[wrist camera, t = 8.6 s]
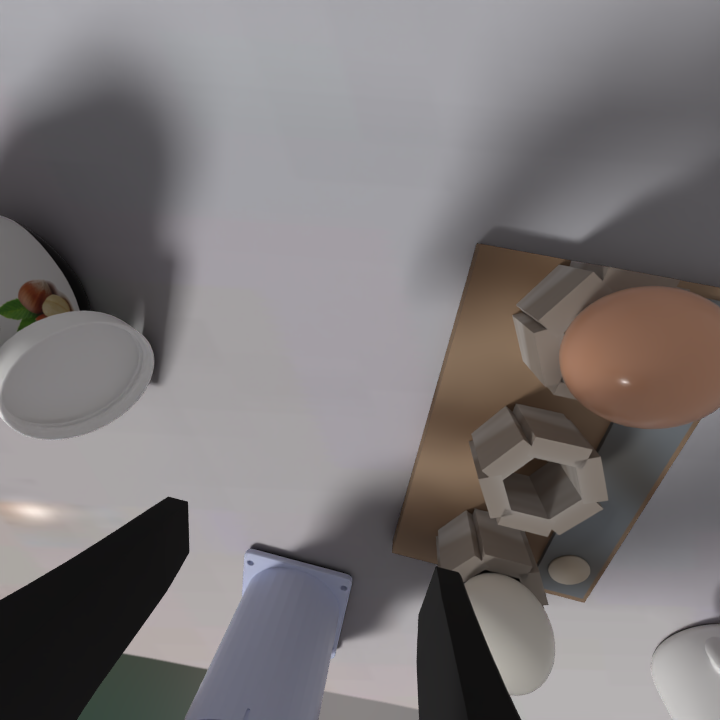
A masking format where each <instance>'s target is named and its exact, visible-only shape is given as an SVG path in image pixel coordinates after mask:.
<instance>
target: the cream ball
mask: <svg viewBox="0 0 720 720" xmlns="http://www.w3.org/2000/svg"><path fill="white" fill-rule="evenodd" d="M464 585H465V588H466V591H467V593H468V596H469V599H470V602H471V604H472V607H473V609H474V612H475V615H476V617H477V620H478V622H479V625H480V627H481V630H482V632H483V635H484V637H485V640H486V642H487V645H488V647H489V649H490V652H491V654H492V656H493V659H494V661H495V663H496V666H497V668H498V670H499V672H500V675H501V677H502V679H503V682H504V684H505V686H506V688H507V691H508V693H509V695H513V696H518V695H525V694H529V693H531V692H533V691H535V690H536V689H538V688H539V687H540V686H542V684H543V683H544V682H545V681H546V680H547V678H548V676H549V674H550V672H551V670H552V667H553V664H554V658H555V640H554V634H553V629H552V626H551V623H550V620H549V618H548V616H547V613H546V612H545V610H544V608H543V606H542V605H541V603H540V602H539V601H538V599H537V598H536V597H535V596H534V594H533V593H532V592H531V591H530V590H529V589H528V588H526V587H525V586H524V585H523V584H521V583H520V582H519V581H517V580H515V579H513V578H511V577H509V576H506V575H503V574H499V573H482V574H479V575H476V576H474V577H472V578H470V579H469V580H468V581H467V582H465V583H464Z"/></svg>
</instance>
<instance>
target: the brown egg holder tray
mask: <svg viewBox="0 0 720 720" xmlns="http://www.w3.org/2000/svg"><path fill="white" fill-rule="evenodd" d="M642 286H663V287H672V288H678V289H682V290H686V291H689V292H693V293H695V294H698V295H700V296H702V297H704V298H706V299H708V300H710V301H711V302H713V303H715V304H716V305H718V306H719V307H720V288H719V287H714V286H709V285H703V284H698V283H692V282H687V281H681V280H678V279H673V278H667V277H662V276H656V275H651V274H645V273H640V272H634V271H629V270H624V269H618V268H613V267H607V266H601V265H595V264H589V263H583V262H578V261H572V260H566V259H561V258H555V257H550V256H544V255H539V254H533V253H528V252H522V251H517V250H511V249H506V248H501V247H495V246H490V245H484V244H478V243H477V245H476V248H475V252H474V255H473V259H472V262H471V266H470V269H469V273H468V276H467V280H466V283H465V287H464V291H463V294H462V298H461V301H460V305H459V308H458V312H457V315H456V319H455V322H454V326H453V329H452V333H451V336H450V340H449V344H448V347H447V351H446V354H445V358H444V361H443V365H442V368H441V372H440V375H439V379H438V382H437V386H436V389H435V393H434V397H433V400H432V404H431V407H430V411H429V414H428V418H427V421H426V425H425V428H424V432H423V435H422V439H421V442H420V446H419V449H418V453H417V457H416V460H415V464H414V467H413V471H412V474H411V478H410V481H409V485H408V488H407V492H406V495H405V499H404V502H403V506H402V510H401V513H400V517H399V520H398V524H397V527H396V531H395V534H394V538H393V546H392V553H395V554H399V555H403V556H407V557H411V558H414V559H418V560H422V561H426V562H430V563H434V564H438V567H441V568H444V569H448V570H452V571H456V572H459V573H460V575H461V577H462V579H463V582H464V583H465V582H467V581H468V580H469V579H470V578H472V577H474V576H476V575H479V574H482V573H499V574H503V575H506V576H509V577H511V578H513V579H515V580H517V581H519V582H520V583H521V584H523V585H524V586H525V587H526V588H528V589H529V590H530V591H531V592H532V593H533V594H534V596H535V597H536V598H537V599H538V601H539V602H540V603H541V605H542V606H543V605H548V602H547V598H546V594H545V593H549V594H553V595H557V596H561V597H565V598H568V599H572V600H576V601H580V602H585V601H586V599H587V598H588V596H589V595H590V593H591V591H592V590H593V588H594V587H595V585H596V584H597V582H598V580H599V579H600V577H601V576H602V574H603V573H604V571H605V569H606V568H607V566H608V565H609V563H610V562H611V560H612V558H613V557H614V555H615V554H616V552H617V550H618V549H619V547H620V546H621V544H622V543H623V541H624V539H625V538H626V536H627V535H628V533H629V532H630V530H631V528H632V527H633V525H634V524H635V522H636V521H637V519H638V517H639V516H640V514H641V513H642V511H643V509H644V508H645V506H646V505H647V503H648V502H649V500H650V498H651V497H652V495H653V494H654V492H655V491H656V489H657V487H658V486H659V484H660V483H661V481H662V480H663V478H664V476H665V475H666V473H667V472H668V470H669V468H670V467H671V465H672V464H673V462H674V461H675V459H676V457H677V456H678V454H679V453H680V451H681V450H682V448H683V446H684V445H685V443H686V442H687V440H688V439H689V437H690V435H691V434H692V432H693V431H694V429H695V427H696V426H697V424H698V423H699V421H700V420H701V419H699V420H697V421H694V422H692V423H689V424H685V425H682V426H678V427H672V428H664V429H640V428H633V427H627V426H623V425H619V424H616V423H613V422H610V421H608V420H605V419H603V418H601V417H599V416H598V415H596V414H594V413H592V412H591V411H589V410H588V409H587V408H586V407H584V406H583V405H582V404H581V403H579V401H578V400H577V399H576V398H575V397H574V396H573V395H572V394H571V392H570V391H569V389H568V388H567V386H566V384H565V382H564V379H563V377H562V374H561V371H560V364H559V350H560V345H561V342H562V339H563V336H564V334H565V332H566V330H567V328H568V327H569V325H570V324H571V322H572V321H573V320H574V318H575V317H576V316H577V315H578V314H579V313H580V312H581V311H582V310H584V309H585V308H586V307H588V306H589V305H590V304H592V303H593V302H595V301H597V300H598V299H600V298H602V297H604V296H606V295H609V294H611V293H614V292H617V291H620V290H624V289H628V288H634V287H642ZM543 608H544V607H543Z"/></svg>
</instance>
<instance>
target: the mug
mask: <svg viewBox="0 0 720 720" xmlns="http://www.w3.org/2000/svg"><path fill="white" fill-rule="evenodd" d="M651 674H652V678H653V681H654V683H655V686H656V688H657V690H658V692H659V694H660V697H661V699H662V701H663V702H664V704H665V706H666V708H667V710H668V712H669V714H670V716H671V718H672V720H720V624H708V625H701V626H696V627H692V628H689V629H686V630H683V631H680V632H678V633H676V634H674V635H672V636H670V637H669V638H667V639H666V640H665V641H663V642H662V643H661V644H660V645H659V646H658V648H657V649H656V650H655V652H654V654H653V657H652V661H651Z"/></svg>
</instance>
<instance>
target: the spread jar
mask: <svg viewBox="0 0 720 720" xmlns="http://www.w3.org/2000/svg"><path fill="white" fill-rule="evenodd" d="M153 370H154V353H153V350H152V348H151V345H150V343H149V342H148V341H147V339H146V338H145V337H144V336H143V335H142V334H141V333H140V332H138V331H137V330H136V329H134V328H133V327H131V326H130V325H128V324H127V323H126V322H124V321H123V320H121V319H119V318H117V317H115V316H113V315H109V314H106V313H102V312H95V311H91V310H90V305H89V302H88V299H87V296H86V293H85V291H84V289H83V287H82V285H81V283H80V281H79V280H78V278H77V276H76V275H75V273H74V272H73V271H72V269H71V268H70V267H69V265H68V264H67V263H66V262H65V261H64V259H63V258H62V257H61V256H60V255H59V254H58V253H57V252H56V251H55V250H54V249H53V248H52V247H51V246H50V245H49V244H48V243H47V242H45V241H44V240H43V239H42V238H40V237H39V236H38V235H37V234H35V233H34V232H33V231H31V230H29V229H28V228H26V227H25V226H23V225H21V224H19V223H17V222H15V221H13V220H11V219H9V218H7V217H4V216H1V215H0V417H1V418H2V419H3V420H4V421H5V422H6V423H7V424H8V425H9V426H10V427H11V428H12V429H13V430H15V431H17V432H18V433H20V434H22V435H24V436H27V437H31V438H34V439H41V440H63V439H69V438H74V437H79V436H82V435H85V434H88V433H91V432H94V431H96V430H98V429H100V428H102V427H104V426H106V425H108V424H110V423H111V422H113V421H114V420H116V419H117V418H119V417H120V416H121V415H123V414H124V413H125V412H126V411H128V410H129V409H130V408H131V407H132V406H133V405H134V404H135V403H136V402H137V401H138V400H139V398H140V397H141V396H142V394H143V393H144V392H145V390H146V388H147V386H148V384H149V382H150V380H151V377H152V374H153Z"/></svg>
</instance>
